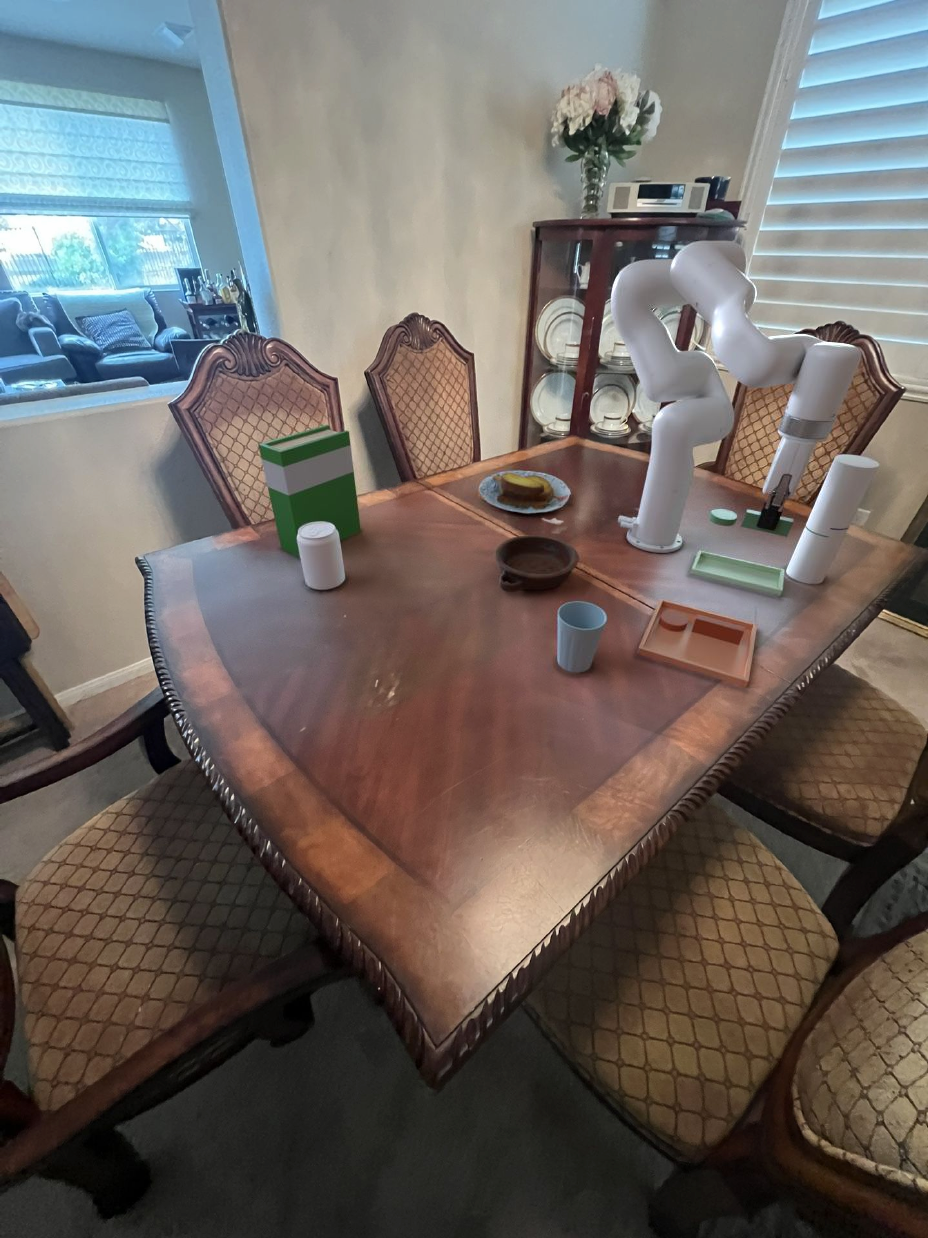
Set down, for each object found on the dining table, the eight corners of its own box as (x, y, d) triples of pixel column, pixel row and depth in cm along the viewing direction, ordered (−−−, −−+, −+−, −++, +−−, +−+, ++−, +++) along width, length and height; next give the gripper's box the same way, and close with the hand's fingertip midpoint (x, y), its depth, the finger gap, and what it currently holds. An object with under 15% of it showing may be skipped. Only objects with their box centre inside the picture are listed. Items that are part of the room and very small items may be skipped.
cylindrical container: (828, 585, 110) (886, 469, 95) (791, 581, 111) (843, 465, 96) (817, 568, 116) (870, 455, 101) (782, 565, 117) (829, 453, 102)
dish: (594, 566, 116) (598, 545, 113) (544, 612, 102) (546, 590, 99) (526, 542, 124) (528, 523, 121) (471, 582, 110) (471, 561, 107)
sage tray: (689, 576, 113) (691, 568, 112) (696, 557, 119) (698, 549, 118) (779, 598, 106) (782, 590, 105) (781, 577, 113) (784, 569, 112)
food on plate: (573, 485, 153) (576, 463, 149) (566, 522, 133) (569, 498, 129) (487, 476, 157) (488, 455, 153) (468, 511, 138) (469, 488, 134)
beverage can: (353, 576, 112) (346, 525, 104) (330, 595, 106) (320, 542, 99) (322, 568, 114) (313, 517, 107) (297, 586, 108) (286, 533, 101)
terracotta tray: (636, 656, 91) (638, 647, 90) (657, 606, 104) (660, 598, 102) (744, 690, 85) (748, 681, 83) (754, 632, 97) (757, 624, 96)
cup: (589, 685, 85) (599, 634, 79) (544, 671, 88) (551, 620, 82) (601, 658, 91) (612, 609, 85) (559, 645, 93) (566, 596, 87)
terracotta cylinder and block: (656, 626, 97) (660, 613, 95) (661, 613, 100) (665, 600, 99) (737, 650, 92) (743, 636, 90) (740, 635, 95) (746, 622, 93)
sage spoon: (707, 522, 102) (711, 508, 100) (711, 513, 105) (715, 499, 104) (786, 540, 97) (792, 525, 95) (788, 530, 100) (794, 515, 98)
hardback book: (340, 522, 132) (326, 424, 118) (360, 531, 129) (349, 431, 114) (281, 548, 121) (258, 444, 107) (301, 559, 117) (280, 452, 103)
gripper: (783, 411, 95) (749, 506, 106) (776, 435, 84) (739, 538, 95) (831, 418, 92) (790, 514, 103) (830, 443, 81) (785, 548, 92)
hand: (766, 525), depth 99 cm, fingers closed on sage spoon, 1 cm apart
